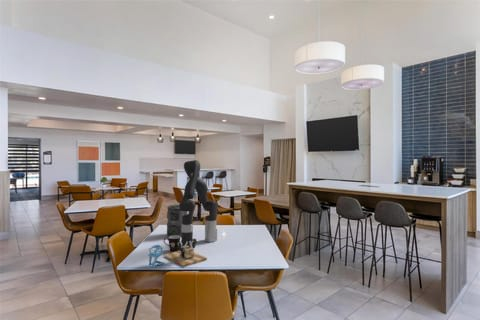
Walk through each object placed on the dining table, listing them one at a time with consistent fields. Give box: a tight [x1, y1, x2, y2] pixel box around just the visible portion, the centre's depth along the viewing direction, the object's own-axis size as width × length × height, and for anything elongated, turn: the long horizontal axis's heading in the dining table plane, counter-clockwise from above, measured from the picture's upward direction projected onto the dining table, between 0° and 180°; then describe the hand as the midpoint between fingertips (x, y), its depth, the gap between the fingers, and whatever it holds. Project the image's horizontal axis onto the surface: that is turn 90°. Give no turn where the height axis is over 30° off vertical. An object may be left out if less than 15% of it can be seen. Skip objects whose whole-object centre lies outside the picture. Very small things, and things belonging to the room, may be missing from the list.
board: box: [163, 251, 208, 268], centre depth 182 cm, size 18×24×2 cm
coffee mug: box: [163, 235, 181, 253], centre depth 198 cm, size 12×9×10 cm
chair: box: [147, 244, 166, 268], centre depth 170 cm, size 8×8×12 cm
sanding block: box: [180, 245, 195, 259], centre depth 181 cm, size 5×9×6 cm, turn 44°
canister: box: [166, 202, 187, 238], centre depth 236 cm, size 16×16×28 cm
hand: (186, 255), depth 181 cm, fingers closed on sanding block, 5 cm apart
